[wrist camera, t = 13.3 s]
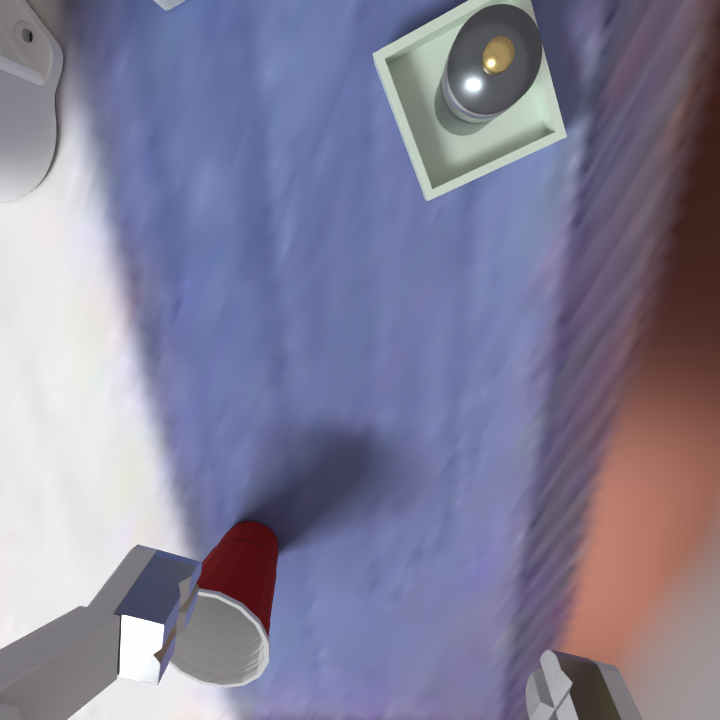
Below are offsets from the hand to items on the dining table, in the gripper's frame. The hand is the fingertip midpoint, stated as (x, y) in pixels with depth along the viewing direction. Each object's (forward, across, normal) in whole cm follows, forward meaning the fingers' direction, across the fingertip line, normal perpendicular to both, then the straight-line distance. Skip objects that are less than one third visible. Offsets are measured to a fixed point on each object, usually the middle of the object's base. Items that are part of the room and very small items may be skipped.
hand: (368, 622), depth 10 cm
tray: (+29, -1, -16) cm, 33 cm away
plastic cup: (+29, +8, +29) cm, 42 cm away
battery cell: (+28, -1, -16) cm, 33 cm away
